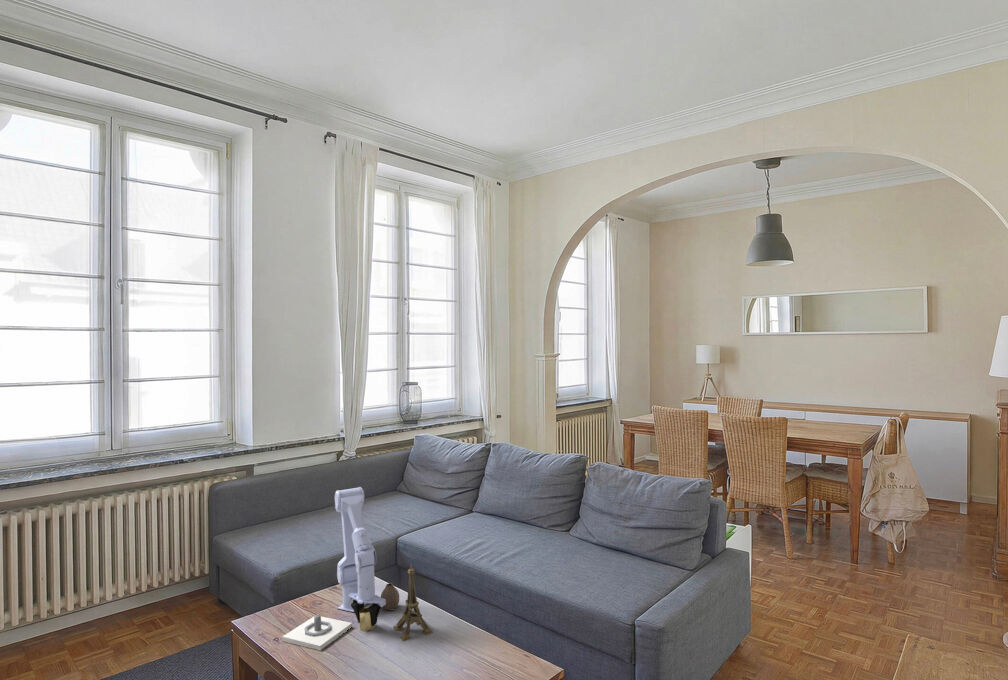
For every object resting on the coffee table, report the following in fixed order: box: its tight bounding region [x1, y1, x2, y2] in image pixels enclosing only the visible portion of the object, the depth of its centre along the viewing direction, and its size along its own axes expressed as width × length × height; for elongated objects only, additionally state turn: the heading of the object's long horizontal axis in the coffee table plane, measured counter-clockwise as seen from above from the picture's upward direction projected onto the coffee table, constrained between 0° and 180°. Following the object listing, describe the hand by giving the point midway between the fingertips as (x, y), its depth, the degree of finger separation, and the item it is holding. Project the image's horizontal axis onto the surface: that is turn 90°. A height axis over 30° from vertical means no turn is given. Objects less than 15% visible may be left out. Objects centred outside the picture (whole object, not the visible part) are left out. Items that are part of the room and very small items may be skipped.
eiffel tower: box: [393, 564, 434, 642], centre depth 202 cm, size 11×11×25 cm
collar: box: [359, 606, 376, 632], centre depth 205 cm, size 5×5×6 cm
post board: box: [281, 614, 353, 651], centre depth 201 cm, size 16×16×6 cm
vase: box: [380, 582, 400, 611], centre depth 219 cm, size 7×7×9 cm
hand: (367, 623), depth 205 cm, fingers closed on collar, 5 cm apart
